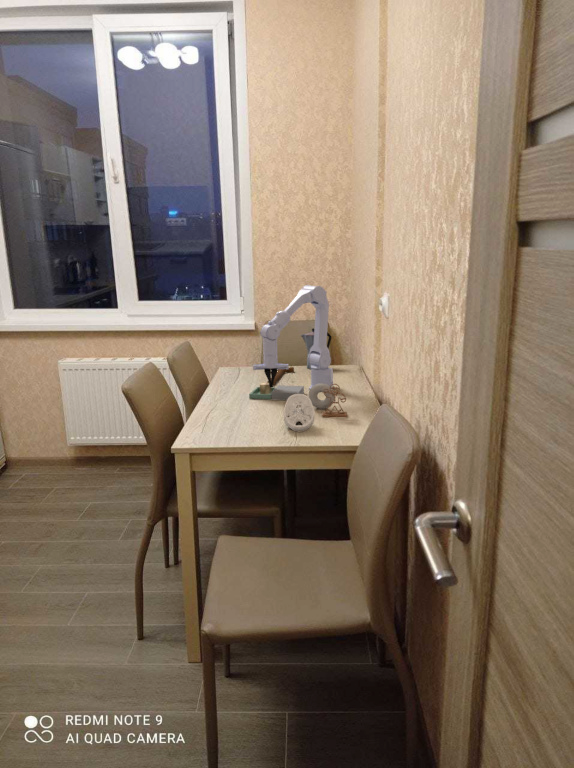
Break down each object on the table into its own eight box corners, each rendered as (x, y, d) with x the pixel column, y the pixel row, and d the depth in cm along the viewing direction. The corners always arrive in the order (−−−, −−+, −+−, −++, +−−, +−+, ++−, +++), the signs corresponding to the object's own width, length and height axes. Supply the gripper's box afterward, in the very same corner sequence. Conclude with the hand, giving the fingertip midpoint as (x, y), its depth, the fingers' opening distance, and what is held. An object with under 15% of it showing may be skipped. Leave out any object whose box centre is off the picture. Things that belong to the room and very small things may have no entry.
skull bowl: (313, 414, 200) (314, 391, 192) (314, 445, 191) (315, 422, 182) (283, 414, 201) (283, 391, 192) (283, 446, 191) (283, 423, 182)
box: (277, 392, 238) (277, 387, 237) (270, 399, 226) (270, 394, 226) (257, 391, 239) (257, 386, 239) (249, 398, 228) (249, 394, 228)
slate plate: (303, 393, 235) (303, 386, 234) (298, 400, 224) (298, 393, 223) (278, 392, 237) (278, 385, 237) (271, 399, 226) (271, 392, 225)
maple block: (271, 382, 235) (262, 382, 236) (269, 384, 232) (259, 384, 232) (271, 391, 236) (262, 391, 237) (269, 394, 232) (260, 394, 233)
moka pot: (302, 365, 289) (301, 327, 284) (332, 365, 287) (332, 327, 282) (300, 369, 280) (299, 329, 275) (331, 369, 277) (330, 329, 273)
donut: (307, 409, 211) (307, 383, 209) (309, 407, 215) (309, 381, 212) (334, 410, 209) (334, 384, 207) (335, 408, 213) (335, 382, 210)
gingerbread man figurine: (346, 414, 205) (347, 382, 202) (346, 417, 201) (347, 385, 198) (322, 414, 205) (322, 382, 203) (322, 417, 202) (322, 385, 199)
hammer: (280, 387, 247) (294, 372, 276) (280, 380, 247) (294, 366, 275) (254, 386, 250) (271, 372, 278) (254, 379, 249) (270, 365, 278)
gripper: (288, 351, 232) (288, 383, 235) (253, 352, 232) (254, 384, 235) (288, 355, 225) (288, 388, 228) (252, 355, 225) (253, 388, 228)
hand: (271, 386), depth 231 cm, fingers closed
